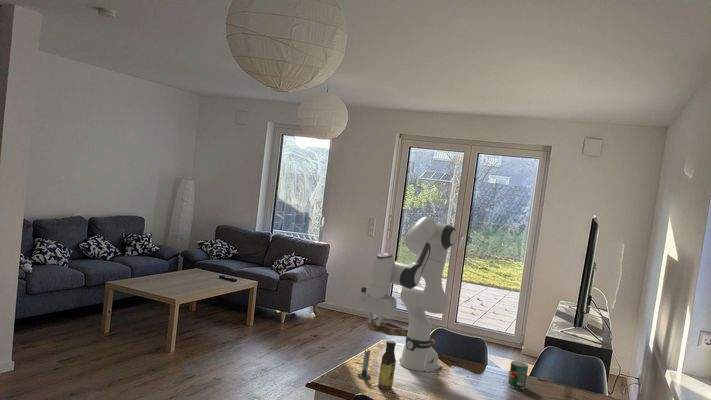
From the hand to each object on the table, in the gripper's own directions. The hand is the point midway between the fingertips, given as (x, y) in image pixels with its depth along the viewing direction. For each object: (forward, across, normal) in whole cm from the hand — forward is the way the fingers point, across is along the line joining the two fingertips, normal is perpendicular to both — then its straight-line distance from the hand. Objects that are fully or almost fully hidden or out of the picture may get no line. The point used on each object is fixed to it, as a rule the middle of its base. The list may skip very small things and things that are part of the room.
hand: (374, 324), depth 239 cm
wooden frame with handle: (+4, 0, -7) cm, 8 cm away
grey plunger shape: (+27, +10, -9) cm, 30 cm away
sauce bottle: (+28, -3, -9) cm, 29 cm away
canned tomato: (+27, -29, -73) cm, 83 cm away
